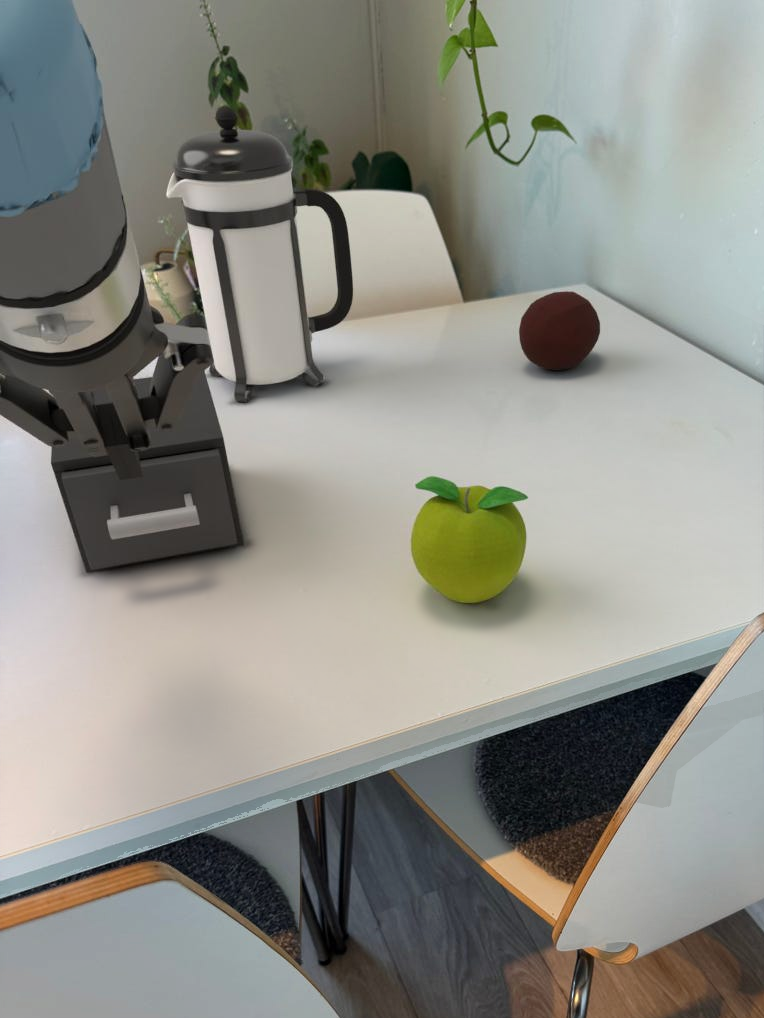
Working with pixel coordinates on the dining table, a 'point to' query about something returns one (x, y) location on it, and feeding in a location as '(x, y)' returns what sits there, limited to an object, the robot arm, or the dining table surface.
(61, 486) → the small grey cabinet
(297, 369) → the coffee press
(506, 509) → the fruit
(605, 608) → the dining table surface
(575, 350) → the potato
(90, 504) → the drawer
